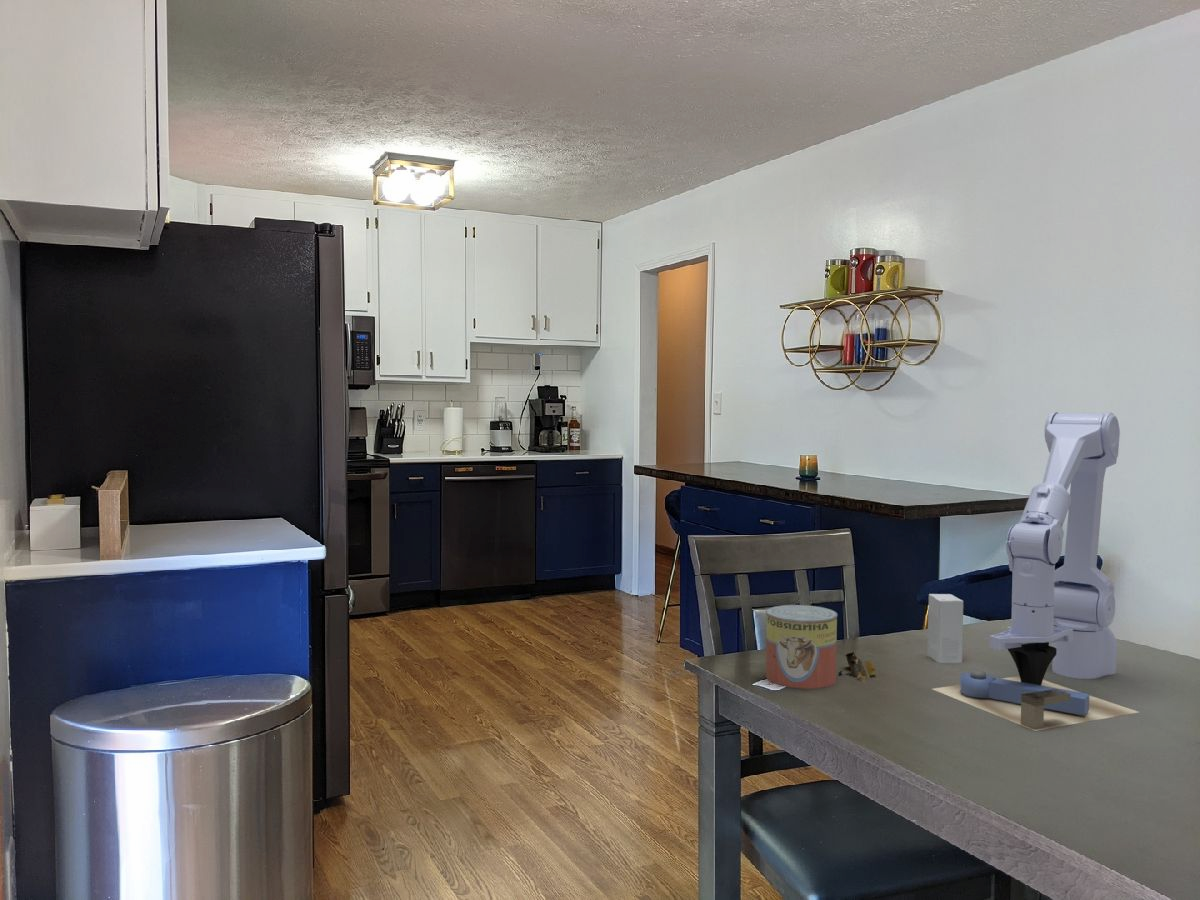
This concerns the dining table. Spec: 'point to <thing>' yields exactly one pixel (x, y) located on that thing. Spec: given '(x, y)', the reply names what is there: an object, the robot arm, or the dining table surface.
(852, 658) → the regulator
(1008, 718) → the board
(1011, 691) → the link
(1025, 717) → the keeper
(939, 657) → the skincare box
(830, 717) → the dining table surface
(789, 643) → the canned food
